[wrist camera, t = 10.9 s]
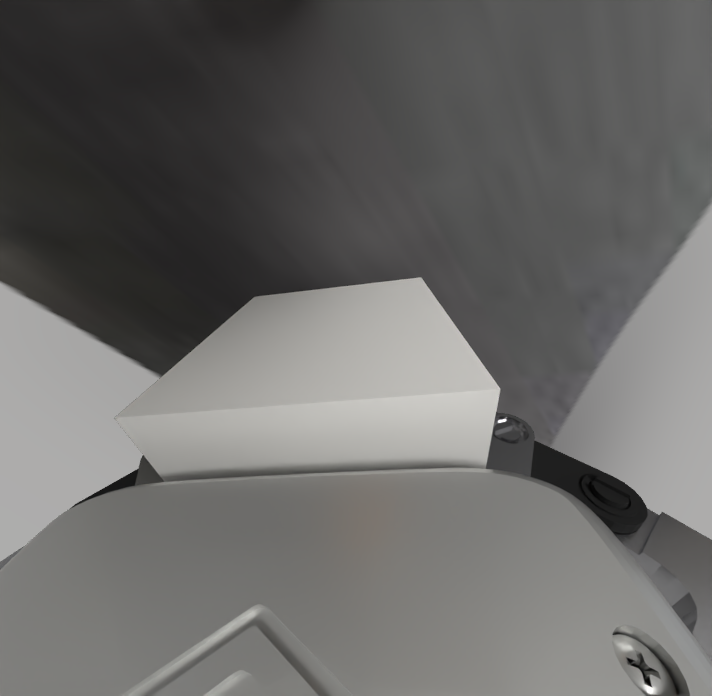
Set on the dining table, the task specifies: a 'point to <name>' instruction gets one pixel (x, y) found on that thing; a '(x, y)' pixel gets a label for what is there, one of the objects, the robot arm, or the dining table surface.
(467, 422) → the white cube
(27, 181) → the dining table surface
